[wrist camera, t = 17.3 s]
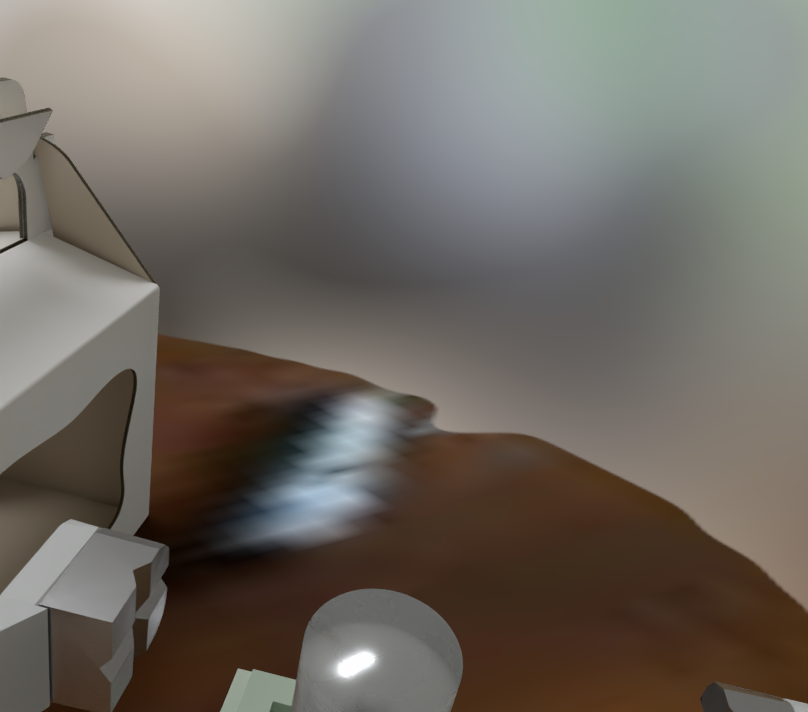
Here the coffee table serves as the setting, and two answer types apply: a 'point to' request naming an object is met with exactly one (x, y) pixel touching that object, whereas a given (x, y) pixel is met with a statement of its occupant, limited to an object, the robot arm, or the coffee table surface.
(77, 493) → the gable box
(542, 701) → the coffee table surface
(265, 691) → the plate
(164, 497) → the coffee table surface
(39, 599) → the robot arm
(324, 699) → the brushed metal cylinder
